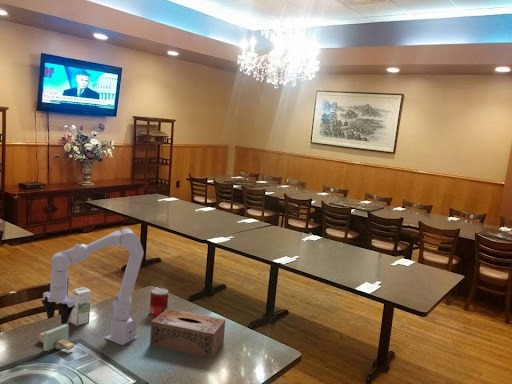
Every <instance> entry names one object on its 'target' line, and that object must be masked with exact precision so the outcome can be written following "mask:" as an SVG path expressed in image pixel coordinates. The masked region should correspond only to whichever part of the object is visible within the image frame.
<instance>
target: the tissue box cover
mask: <svg viewBox="0 0 512 384" xmlns="http://www.w3.org/2000/svg"><path fill="white" fill-rule="evenodd" d="M150 323H151V325H150V338H149V339H150V340H149V345H150V346H152V347H157V348H161V349H166V350H171V351H175V352H181V353H185V354H188V355H189V354H190V355H195V356H199V357H203V358H207V359H213V357H214V356H215V355H216V353H217V351H219V349H220V348H221V346H222V345H223V343H224V341H225V329H226V319H225V318H219V317H215V316H210V315H203V314H199V313H195V312H194V313H193V312H189V311H183V310H177V309H172V308H168V307H167V309H166V310H165V311H164V312H163V313H161V314H160V315H159V316H158V317H155V318H154V319H153V320H151V322H150Z"/></svg>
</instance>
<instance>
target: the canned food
mask: <svg viewBox="0 0 512 384" xmlns="http://www.w3.org/2000/svg"><path fill="white" fill-rule="evenodd" d="M149 300H150V301H149V302H150V303H149V315H151V316H152V317H155V316H157V317H158V316H159V315H160V314H161V313H163V312H164V311H165V310H166V309H167V308H168V306H169V305H168V304H169V290H168V289H166V288H163V287H155V288H152V289H151V291H150V299H149Z"/></svg>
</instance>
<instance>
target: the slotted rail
mask: <svg viewBox="0 0 512 384" xmlns="http://www.w3.org/2000/svg"><path fill="white" fill-rule="evenodd" d="M44 332H45V331H44ZM44 332H40V333H39V335H38V336H39V337H38V338H39V339H38V340H39V341H38V342H40V343H41V344H44ZM59 346H60V347H62V348H64V349H66V350H70V349H72V348H75V344H74V343H72V342H70V341H69V340H68V341H66V340H63V339H62V340H59V341H57V342H56V343H54V347H59Z"/></svg>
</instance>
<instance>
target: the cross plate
mask: <svg viewBox="0 0 512 384" xmlns="http://www.w3.org/2000/svg"><path fill="white" fill-rule="evenodd" d="M69 326H70V325H69V324H67V323H65V324H61V325H60V326H57V327H54V328H52V329H49V330H46V331H44V343H42V345H43V347H42V349H43V352H45V351H46V350H49V349H51V348H53V349H55V348H54V343H56V342H57V341H59V340H62V339H63V340H66V341H68V342H69V332H70V331H69V328H70V327H69Z"/></svg>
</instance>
